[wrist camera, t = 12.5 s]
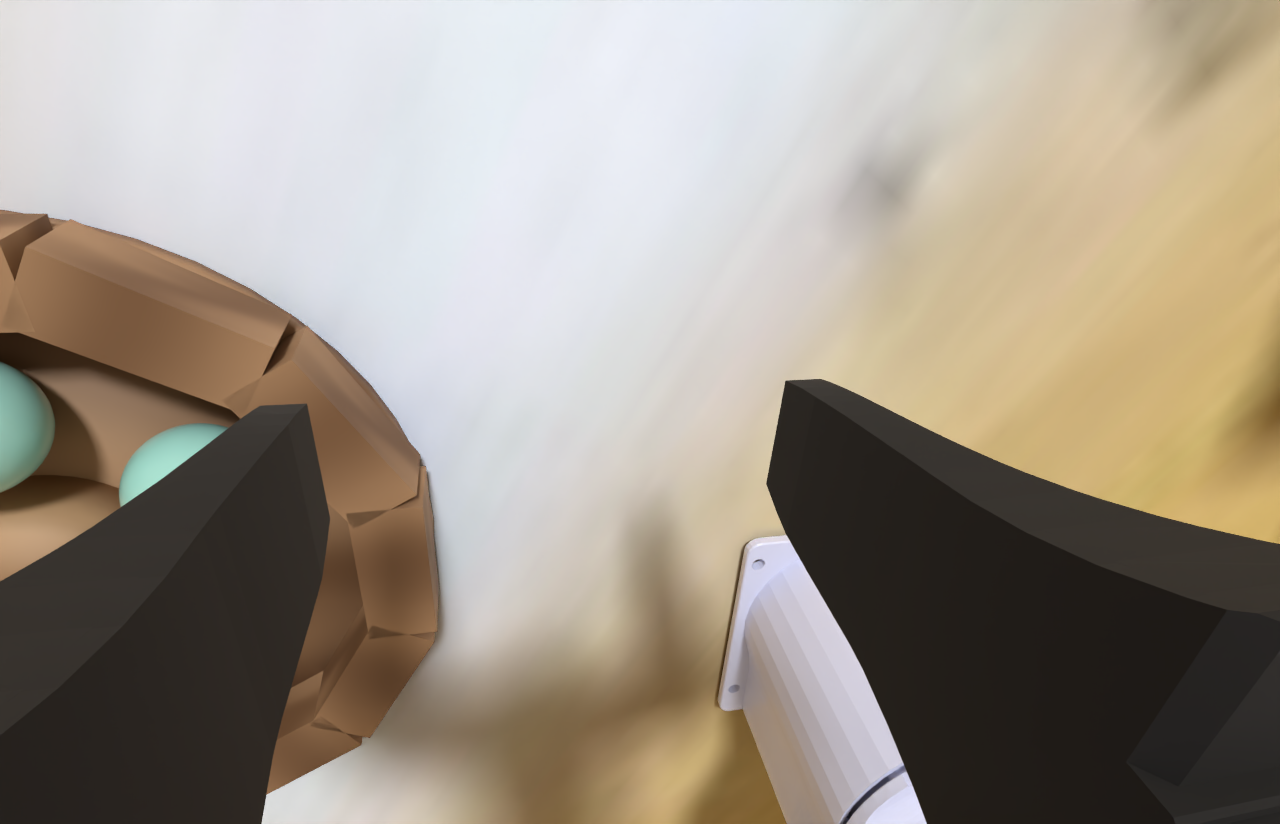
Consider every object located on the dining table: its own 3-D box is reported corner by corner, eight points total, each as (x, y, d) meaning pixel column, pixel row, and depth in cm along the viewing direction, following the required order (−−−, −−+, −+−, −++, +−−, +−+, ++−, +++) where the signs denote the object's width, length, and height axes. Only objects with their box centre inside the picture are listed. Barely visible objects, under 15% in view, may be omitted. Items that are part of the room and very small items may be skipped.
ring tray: (454, 715, 28) (453, 787, 26) (-156, 800, 24) (-229, 895, 21) (400, 209, 18) (389, 245, 16) (-672, 202, 14) (-923, 250, 11)
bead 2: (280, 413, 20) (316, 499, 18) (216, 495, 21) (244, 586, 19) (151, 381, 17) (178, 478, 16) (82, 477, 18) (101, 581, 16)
